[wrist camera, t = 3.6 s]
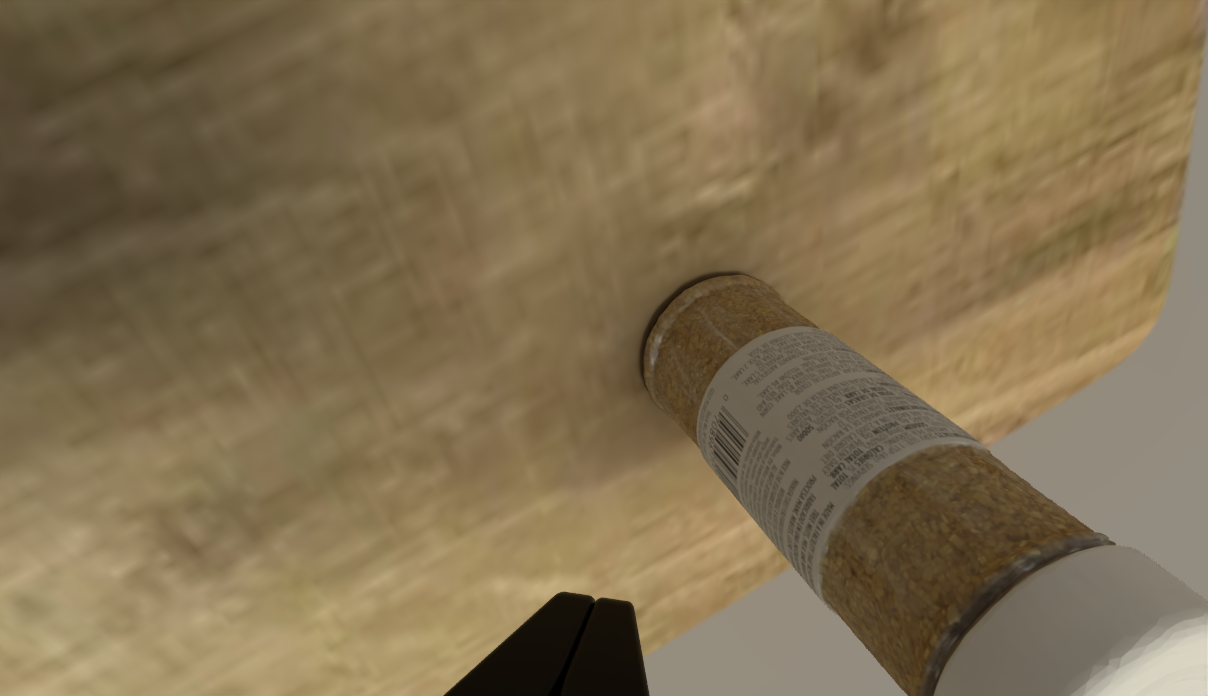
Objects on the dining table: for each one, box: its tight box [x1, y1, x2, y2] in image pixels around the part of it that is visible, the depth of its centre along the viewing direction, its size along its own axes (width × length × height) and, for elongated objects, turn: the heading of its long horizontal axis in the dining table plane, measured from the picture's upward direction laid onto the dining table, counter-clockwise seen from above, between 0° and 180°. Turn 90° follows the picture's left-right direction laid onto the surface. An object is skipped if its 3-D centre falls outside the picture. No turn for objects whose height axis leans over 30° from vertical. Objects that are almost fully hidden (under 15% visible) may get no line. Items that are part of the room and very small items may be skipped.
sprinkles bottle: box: [643, 275, 1208, 696], centre depth 18 cm, size 5×5×14 cm
